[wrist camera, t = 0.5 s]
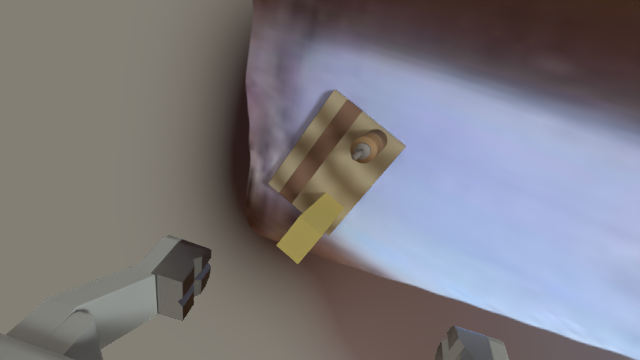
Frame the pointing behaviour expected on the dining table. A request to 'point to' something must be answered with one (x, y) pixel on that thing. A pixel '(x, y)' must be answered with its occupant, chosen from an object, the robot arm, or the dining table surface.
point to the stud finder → (310, 227)
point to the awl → (368, 146)
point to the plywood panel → (333, 159)
